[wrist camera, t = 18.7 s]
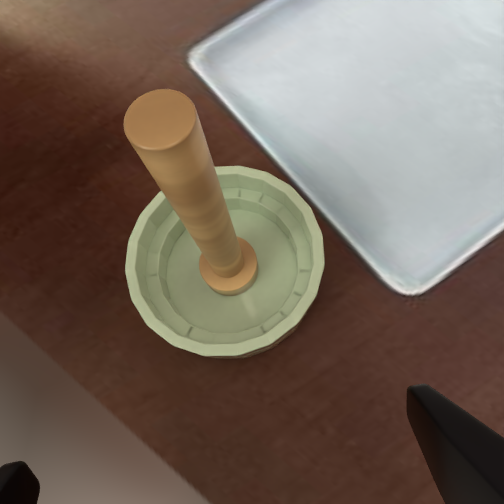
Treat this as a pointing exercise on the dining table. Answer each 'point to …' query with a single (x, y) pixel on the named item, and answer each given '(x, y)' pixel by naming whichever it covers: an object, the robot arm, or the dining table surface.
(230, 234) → the tan wooden rod
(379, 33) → the dining table surface
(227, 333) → the bowl
